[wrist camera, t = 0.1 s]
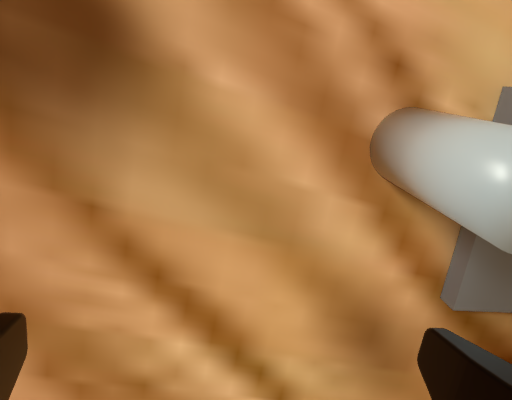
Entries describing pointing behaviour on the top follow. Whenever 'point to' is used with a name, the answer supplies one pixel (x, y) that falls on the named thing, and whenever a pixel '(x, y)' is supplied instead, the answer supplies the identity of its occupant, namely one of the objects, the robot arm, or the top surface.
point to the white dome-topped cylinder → (451, 167)
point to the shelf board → (481, 258)
